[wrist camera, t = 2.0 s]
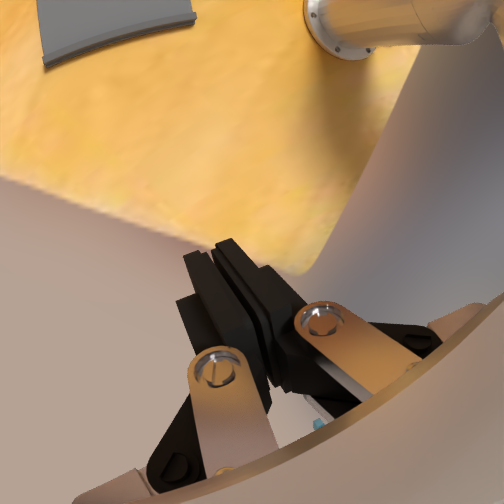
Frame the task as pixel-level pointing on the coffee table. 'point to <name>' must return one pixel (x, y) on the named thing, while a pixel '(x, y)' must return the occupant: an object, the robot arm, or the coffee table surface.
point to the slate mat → (103, 23)
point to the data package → (318, 424)
